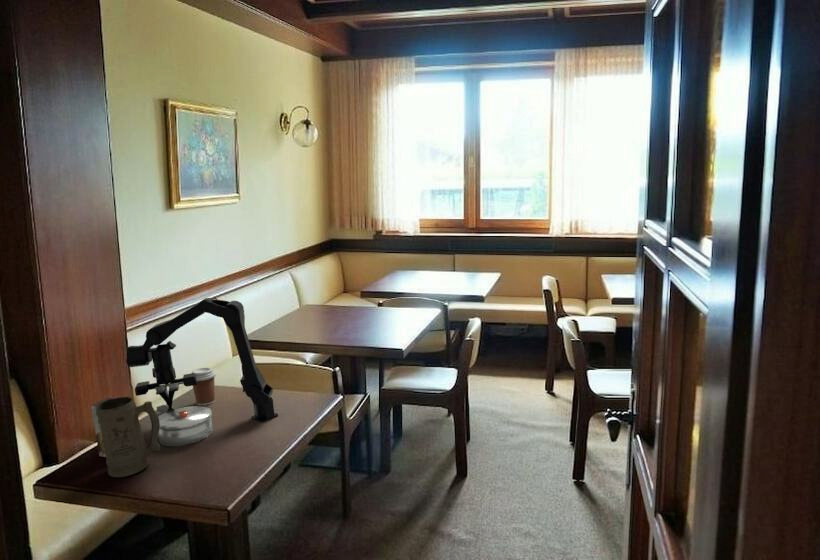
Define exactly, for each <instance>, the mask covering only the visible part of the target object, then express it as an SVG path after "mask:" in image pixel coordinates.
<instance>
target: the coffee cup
mask: <svg viewBox="0 0 820 560" xmlns="http://www.w3.org/2000/svg"><path fill="white" fill-rule="evenodd" d="M191 373H195V374H196V375H197V385H193V386H192V389H193V393H194V399H195V403H197V404H198V405H197V404H196V405H197V406H201V405H203V406H208V405H207V404H209V405H212V404H214V403H215V402H216V396H215V395H216V392H215V391H216V390H215V388H216V387H215V377H216V376H217V373H216V372H215V371H214V370H213V368H212V367H198V368H195V369H193V370H192V371H191ZM213 402H214V403H213ZM211 403H212V404H211Z"/></svg>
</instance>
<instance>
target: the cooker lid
mask: <svg viewBox="0 0 820 560" xmlns="http://www.w3.org/2000/svg"><path fill="white" fill-rule="evenodd" d="M156 412H158V413H163V414H162V415H160V416H159V417H158V418H159V423H160V428H159V429H162V430H182V429H187V428H192V427H195V426H198V425H201V424H203V423H205V422H207V421H208V420H209V419H210V418H211V419H212V416H213V413H212V410H211V408H209V407H208V406H207V407H206V406H201V405H194V406H192V405H191V406H184V407H179V408H173V407H172V408H170V407H169V406H168V405H165V404H162V405H158V406H156Z"/></svg>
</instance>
